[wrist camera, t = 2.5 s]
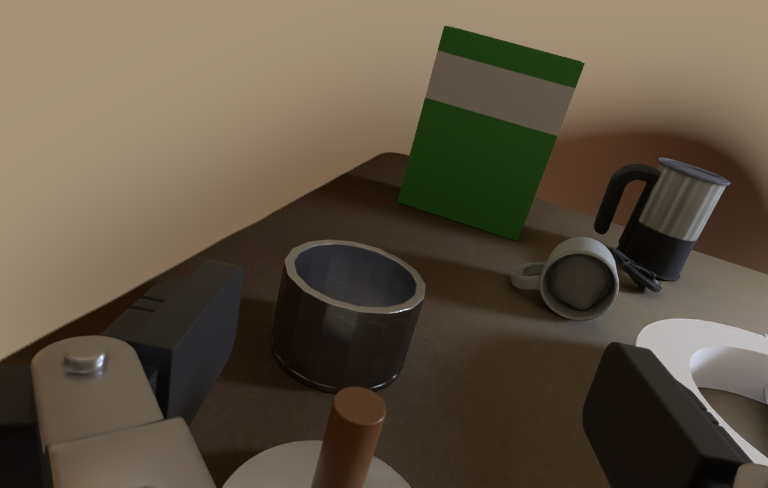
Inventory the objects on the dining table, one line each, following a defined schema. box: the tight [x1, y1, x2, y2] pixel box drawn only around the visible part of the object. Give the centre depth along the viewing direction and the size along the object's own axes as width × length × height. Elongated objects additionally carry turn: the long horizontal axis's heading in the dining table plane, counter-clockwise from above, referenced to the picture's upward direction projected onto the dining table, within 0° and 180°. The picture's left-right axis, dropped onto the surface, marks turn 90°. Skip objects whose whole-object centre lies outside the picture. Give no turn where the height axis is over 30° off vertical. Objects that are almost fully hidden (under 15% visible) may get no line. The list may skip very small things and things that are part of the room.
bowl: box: [271, 240, 425, 394], centre depth 41 cm, size 10×10×7 cm
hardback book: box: [397, 26, 584, 241], centre depth 74 cm, size 18×7×24 cm, turn 74°
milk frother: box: [594, 158, 730, 292], centre depth 72 cm, size 14×16×15 cm
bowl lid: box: [222, 387, 411, 488], centre depth 26 cm, size 11×11×9 cm
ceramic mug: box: [511, 237, 619, 321], centre depth 59 cm, size 11×8×8 cm
